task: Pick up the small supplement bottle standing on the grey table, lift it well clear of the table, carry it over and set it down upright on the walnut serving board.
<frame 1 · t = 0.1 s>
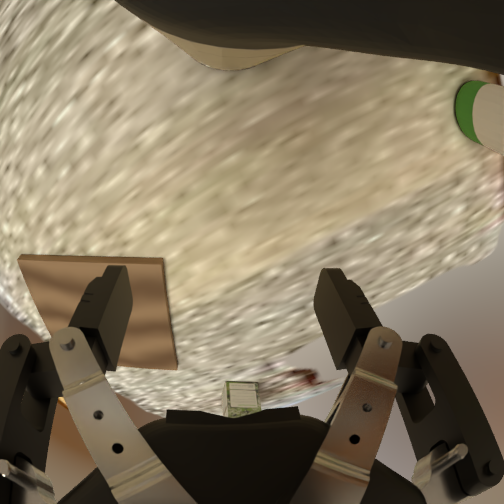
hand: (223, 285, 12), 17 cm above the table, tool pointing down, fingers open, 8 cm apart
wine bottle: (471, 108, 24), on the table
syrup box: (238, 387, 48), on the table
walnut board: (100, 316, 35), on the table
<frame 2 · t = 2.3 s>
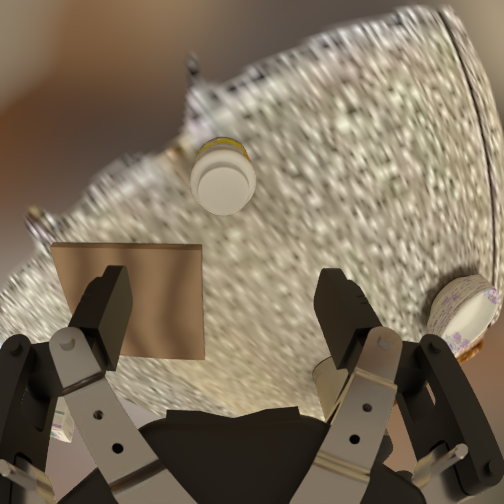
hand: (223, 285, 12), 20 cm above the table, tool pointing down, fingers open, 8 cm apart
syrup box: (70, 372, 46), on the table
supplement bottle: (222, 160, 29), on the table
walnut board: (132, 306, 38), on the table
paper bowls: (449, 297, 45), on the table
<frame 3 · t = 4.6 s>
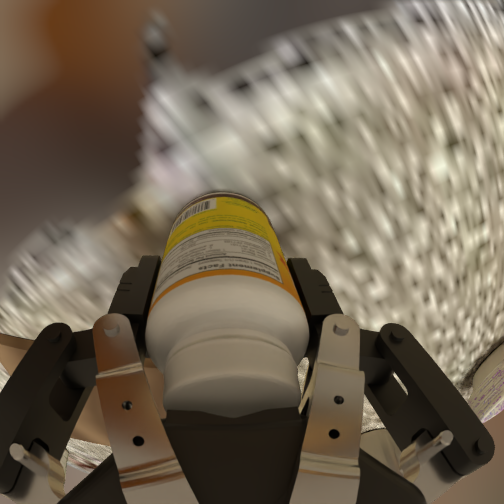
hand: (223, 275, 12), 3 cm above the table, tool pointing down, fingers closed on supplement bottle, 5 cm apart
supplement bottle: (222, 234, 15), on the table, touching gripper
walnut board: (106, 407, 24), on the table
paper bowls: (494, 357, 31), on the table
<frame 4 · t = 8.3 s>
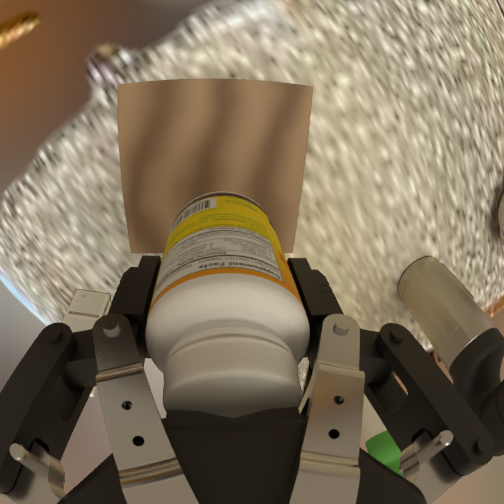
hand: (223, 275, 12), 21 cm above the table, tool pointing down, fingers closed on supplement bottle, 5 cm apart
wine bottle: (360, 378, 58), on the table
syrup box: (96, 304, 39), on the table
supplement bottle: (222, 233, 15), point 18 cm above the table, touching gripper
walnut board: (211, 169, 31), on the table
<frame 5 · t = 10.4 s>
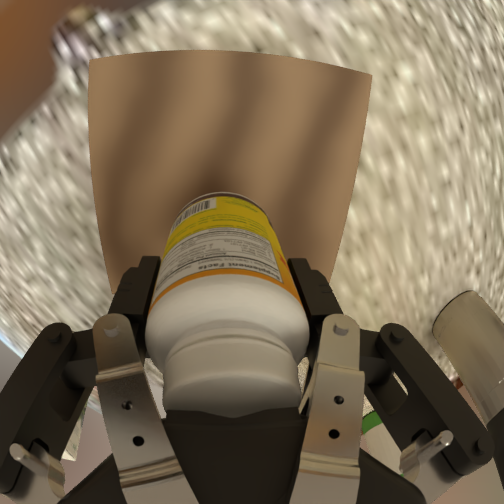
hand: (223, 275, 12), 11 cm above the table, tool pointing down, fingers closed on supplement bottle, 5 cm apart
wine bottle: (376, 414, 49), on the table
syrup box: (75, 344, 30), on the table
supplement bottle: (222, 233, 15), point 8 cm above the table, touching gripper
walnut board: (222, 184, 22), on the table
when the fingers open (6 cm above the table, at t = 12.4 s): supplement bottle drops 1 cm, resting on walnut board.
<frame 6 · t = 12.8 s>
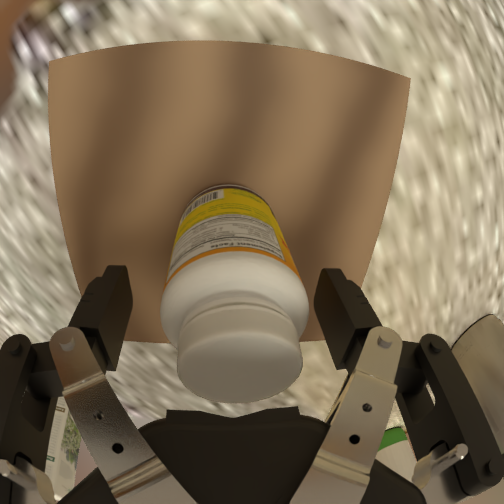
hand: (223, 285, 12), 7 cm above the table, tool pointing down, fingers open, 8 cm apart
wine bottle: (384, 434, 45), on the table
syrup box: (64, 379, 26), on the table
supplement bottle: (227, 224, 17), point 1 cm above the table, touching walnut board
walnut board: (221, 216, 17), on the table
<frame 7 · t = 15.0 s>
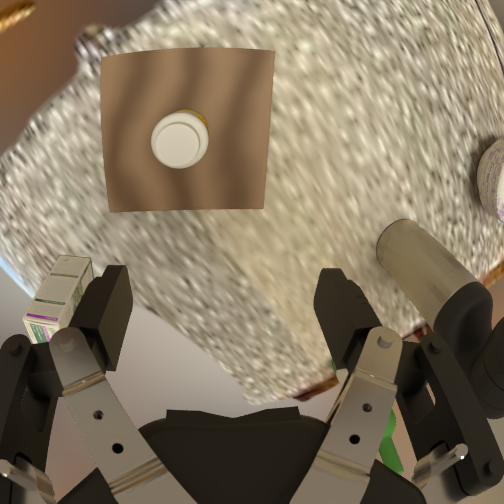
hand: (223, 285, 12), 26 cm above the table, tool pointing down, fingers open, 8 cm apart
wine bottle: (347, 355, 59), on the table
syrup box: (78, 270, 40), on the table
supplement bottle: (186, 130, 31), point 1 cm above the table, touching walnut board
walnut board: (183, 129, 32), on the table
paper bowls: (489, 170, 40), on the table
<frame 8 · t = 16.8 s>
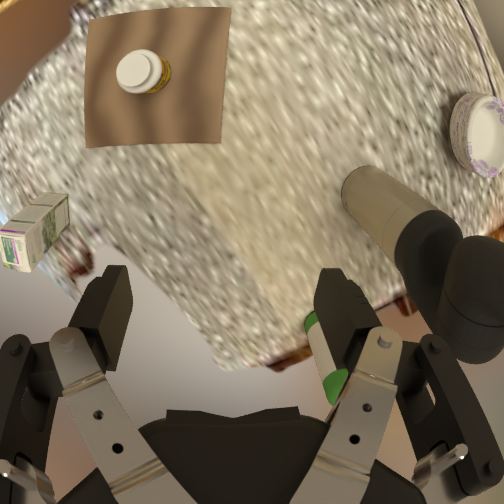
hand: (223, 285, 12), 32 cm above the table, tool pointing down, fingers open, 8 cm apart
wine bottle: (320, 318, 60), on the table
syrup box: (56, 207, 41), on the table
supplement bottle: (153, 74, 32), point 1 cm above the table, touching walnut board
walnut board: (152, 74, 32), on the table
paper bowls: (464, 127, 40), on the table
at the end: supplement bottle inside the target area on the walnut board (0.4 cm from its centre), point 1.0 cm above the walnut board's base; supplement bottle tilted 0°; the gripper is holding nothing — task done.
